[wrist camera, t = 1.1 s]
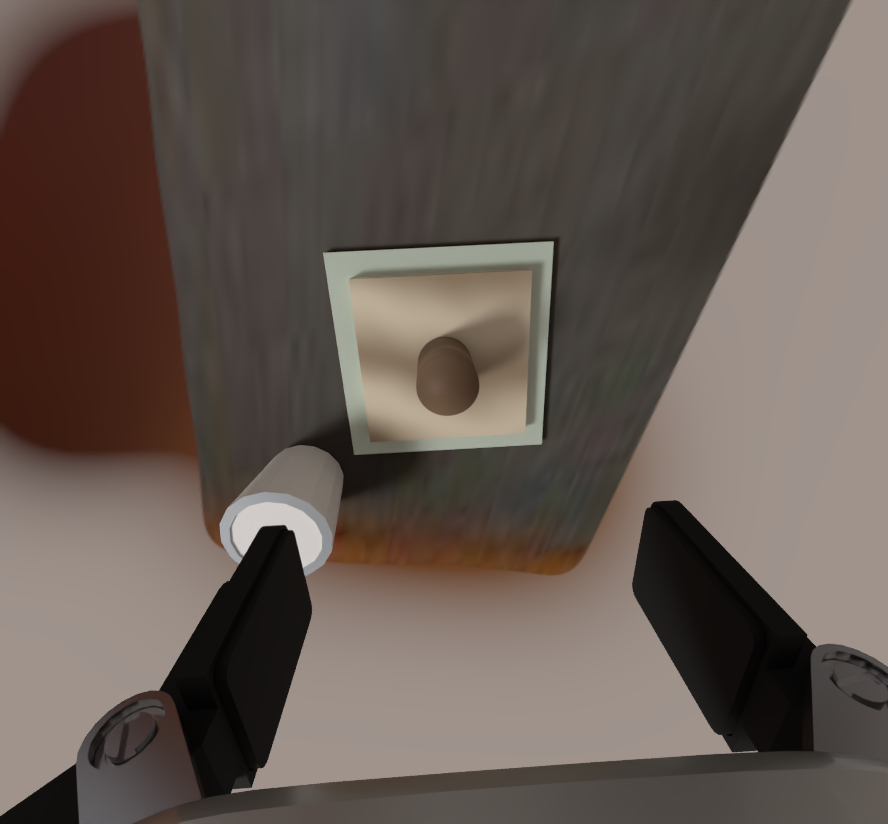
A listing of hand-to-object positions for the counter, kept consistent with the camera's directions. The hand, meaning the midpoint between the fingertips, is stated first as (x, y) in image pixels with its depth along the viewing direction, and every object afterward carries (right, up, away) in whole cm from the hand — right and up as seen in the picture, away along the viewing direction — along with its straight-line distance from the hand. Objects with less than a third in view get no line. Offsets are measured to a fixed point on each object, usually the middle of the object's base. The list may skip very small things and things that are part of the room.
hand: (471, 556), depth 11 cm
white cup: (-11, -1, +21) cm, 24 cm away
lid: (-1, +7, +17) cm, 18 cm away
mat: (-1, +8, +17) cm, 19 cm away
